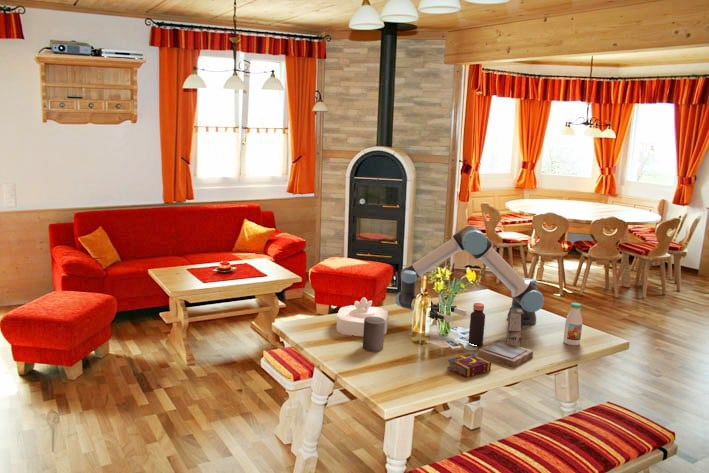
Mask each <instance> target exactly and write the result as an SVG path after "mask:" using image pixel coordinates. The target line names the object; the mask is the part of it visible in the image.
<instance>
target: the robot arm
mask: <svg viewBox="0 0 709 473" xmlns="http://www.w3.org/2000/svg"><path fill="white" fill-rule="evenodd" d="M493 246H494V244H493V242H492V241H491V240H490V239H489V238H488V237H487V236H486V235H485V233H483V232H482V230H481V229H480V228H479V227H477V226H475V225H468V226H465V227H463V228H462V229H460V230H459V231H458V232H456V233H455V234H453V235H451V238H450V239H449V240H447V241H445V243H443V244H441V245H440V246H438V247H437V248H435V249H433V250H432V251H431V252H429V253H427V254H426V255H425V256H424V257H422V258H420V259H419V260H417V261H415V262H414V263H412V264H411V265H410V266H406V267H404V268H402V269H401V271H400V275H399V276H400V282H401V283H400V284H401V285H400V291H399V292H397V294H396V296H395V304H396V305H397V306H398V307H401V308H403V309H408V310H409V311H413V310H414V301H415V299H416V297H417V296H416V286H417V279H418V278H420V277H421V276H423V275H424V274H426V273H428V272H429V271H431V270H432V269H433V268H435V267H436V266H435V263H436V264H437V266H439V265H440V264H441V263H443V262H444V261H446V260H448V259H449V258H451V257H452V256H454V255H455V254H457V253H459V252H463V251H465V252H467V253H468V254H470V255H471V257H473V258H474V259H475V260H480V261H481V262H482V263H483V264H484V265H485V266H486V267H487V268H488V269H489V270H490V271H491V272H492V273H493V275H495V276H496V277H497V278H498V279H499V280H500V281H501V283H502V284H504V286H506V287H507V289H508V290H509V291H511V297H512V298H511V299H512V300H511V306H510V308H521V309H523V312H524V318H523V325H524V326H525V325H527V326H529V325H534V324H536V323H537V314H536V312H537V311H540V310H541V309H542V308H543V306H544V303H545V298H544V295H543V293H542V292H541V291H540V290H539V289H538V288H537V285H538V282H537V280H536V279H534V278H528V277H527V278H526V277H522V276H521V275H520V274H519V273H518V272H517V271H516V270H515V269H514V268H513V267H512V266H511V265H510V264H509V263H508V262H507V261H506V260H505V259H504V258H503V257H502V256H501V255H500V254H499V253H498V252H497V251H496V250H495V249H494V248H493ZM451 305H452V306H451V312H450V313H453V314H456V315H459V316H464V317H466V316H467V310H465V309H462V308H458V306H457V305H453V304H451ZM428 318H430V319H431V320H434V321H438V320H440V321H444V322H446V323H447V322H448V323H451V320H452V319H451V318H452V316H451V315H447V314H444V313H442V312H439V303H437V304H435V303H433V301H432V300H431V311H430V316H428ZM506 319H507V320H509V311H508V312H507V317H506Z"/></svg>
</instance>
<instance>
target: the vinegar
mask: <svg viewBox="0 0 709 473" xmlns="http://www.w3.org/2000/svg"><path fill="white" fill-rule="evenodd" d="M472 308H473V310H472V312H470V321H469V332H468V341H467V343H468V342H469V343H471V344H474V345H477V347H476V348H479V347H480V348H482V347H483V345H484V337H485V336H484V333H485V324H486V323H485V322H486V314H485V313H484V311H485V304H483V303H480V302H475V303H473V307H472Z"/></svg>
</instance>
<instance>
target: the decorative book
mask: <svg viewBox="0 0 709 473" xmlns="http://www.w3.org/2000/svg"><path fill="white" fill-rule="evenodd" d="M447 361H448V362H449V366H447V370H448V371H449V372H450V371H452V372H455V373H456V374H459V375H460V376H462V377H463V378H469V377H470V378H472V377H475V376H476V375H479V374H482V375H483V374H486V373H487V372H490V371H491V368H492V367H491V366H492V362H491V360H489V359H487V358H484V357H481V356H478V354H476V353H474V352H472V353H468V354H466V355H459V356H458V357H452V358H449V359H447Z"/></svg>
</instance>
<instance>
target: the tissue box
mask: <svg viewBox="0 0 709 473" xmlns="http://www.w3.org/2000/svg"><path fill="white" fill-rule="evenodd" d="M372 304H373V300H372V299H371V300H368V299H367V298H366V297H362V298H361V299H360V301H358V300H355V301H354V305H352V304H351V305H346V306H341V307H340V308H339V310H338V312H337V314H336V331H337V332H338V331H339V332H340V334H341V335H342V334H343V335H345V334H346V335H347V336H352V335H354V336H355V337H363V332H364V319H365V318H366V317H371V316H374V317H380V318H383V319H384V320H385V329H384V335H386V334H387V332H388V324H389V323H388V322H389V311H388V310H386V309H384V308H381V307H378V306H372ZM339 332H338V333H339ZM354 336H353V337H354Z"/></svg>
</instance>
